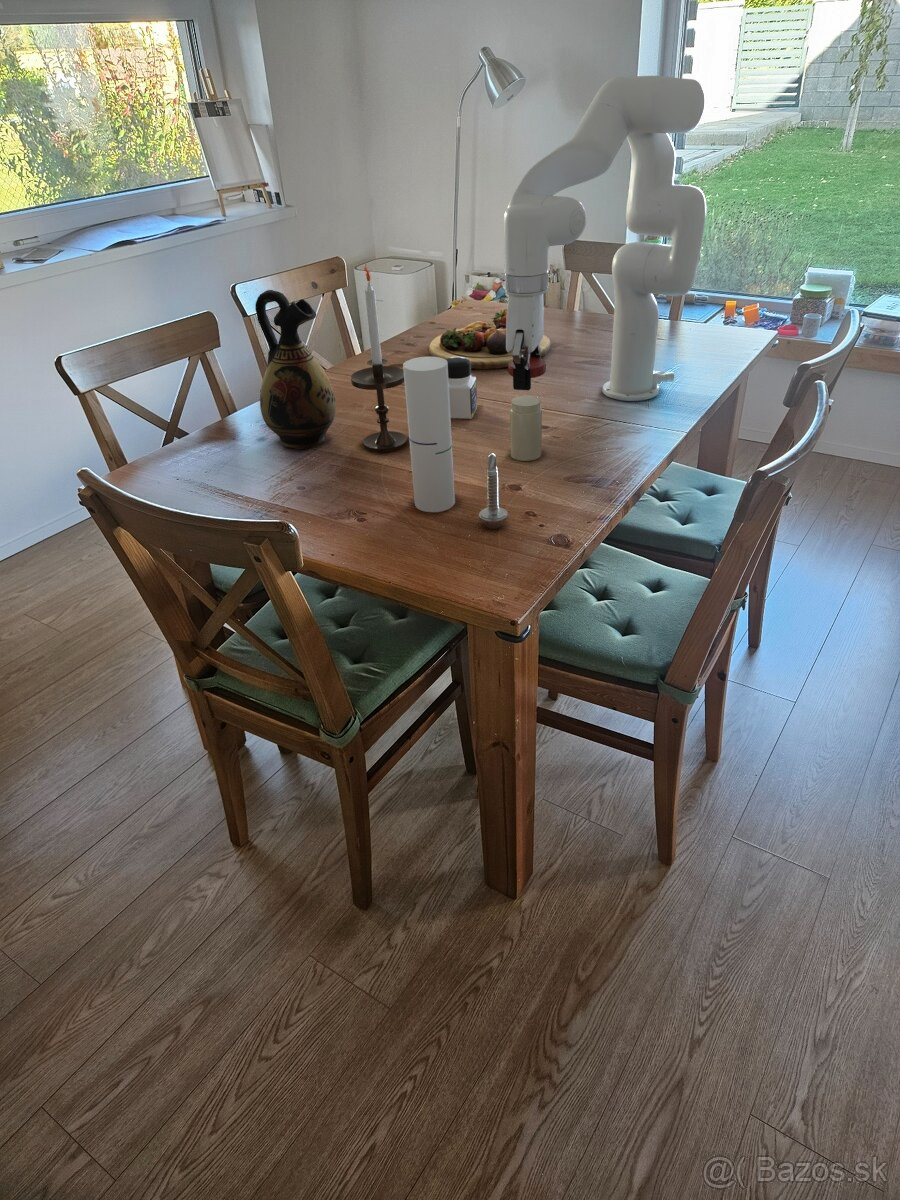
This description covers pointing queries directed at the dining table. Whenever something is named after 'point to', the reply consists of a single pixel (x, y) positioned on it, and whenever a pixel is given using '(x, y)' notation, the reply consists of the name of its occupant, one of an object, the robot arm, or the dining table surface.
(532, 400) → the jar
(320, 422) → the ceramic jug
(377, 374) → the candlestick
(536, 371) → the lid
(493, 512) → the screw
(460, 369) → the medicine bottle
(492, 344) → the wooden plate
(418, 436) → the cylindrical container
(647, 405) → the dining table surface
